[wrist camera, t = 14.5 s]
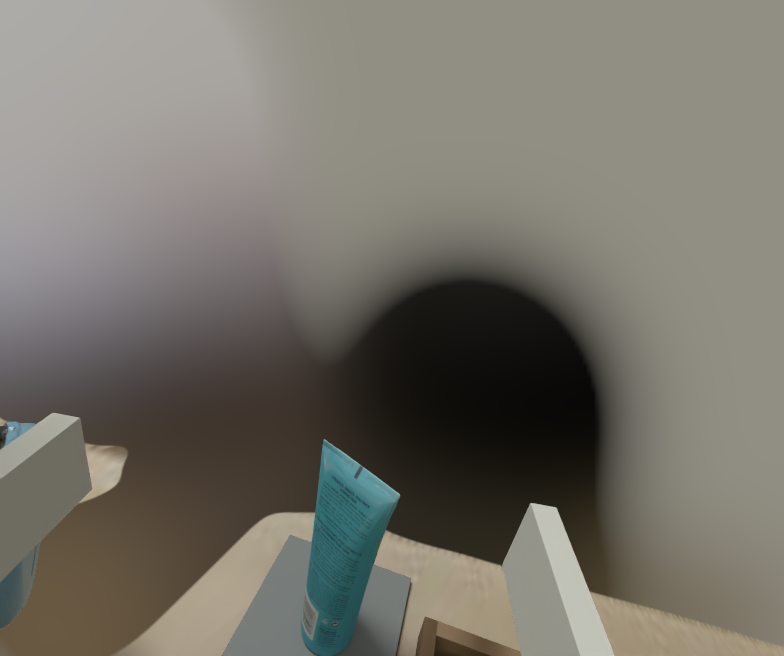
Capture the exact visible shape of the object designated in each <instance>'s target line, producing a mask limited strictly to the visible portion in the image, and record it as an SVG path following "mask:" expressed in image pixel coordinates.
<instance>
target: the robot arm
mask: <svg viewBox="0 0 784 656" xmlns="http://www.w3.org/2000/svg"><path fill="white" fill-rule="evenodd" d="M91 489H92V485H91V479H90V473H89V468H88V462H87V456H86V450H85V444H84V440H83V433H82V428H81V421H80V418H78V417H73V416H67V415H62V414H57V413H52V414H51V415H49V416H48V417H46V418H45V419H43V420H42V421H41V422H39V423H38V424H32V423H22V424H21V423H18V422H15V421H14V422H7V423H5V425H4V426H0V630H1V629H2V628H4V627H5V626H7V625H8V624H9V623H10V622H12V620H13V619H15V618H16V617H17V615H18V614H19V613H20V612H21V610H22V609H23V607H24V606H25V604H26V602H27V599H28V597H29V594H30V592H31V588H32V585H33V581H34V576H35V571H36V566H37V559H38V554H39V548H40V541H41V540H42V539H43V538H44V537H45V536H46V535H47V534H48V533H49V532H50V531H51V530H52V529H53V528H54V527H55V526H56V525H57V524H58V523H59V522H60V521H61V520H62V519H63V518H64V517H65V516H66V515H67V514H68V513H69V512H70V511H71V510H72V509H73V508H74V507H75V506H76V505H77V504H78V503H79V502H80V501H81V500H82V499H83V498H84V497H85V496H86V495H87V494H88V493H89V492H90V491H91ZM503 570H504V575H505V580H506V585H507V590H508V595H509V599H510V604H511V609H512V614H513V619H514V624H515V628H516V633H517V638H518V643H519V648H520V653H521V656H614V653H613V650H612V648H611V645H610V643H609V640H608V638H607V635H606V633H605V630H604V628H603V625H602V622H601V620H600V617H599V615H598V612H597V610H596V607H595V605H594V602H593V600H592V597H591V595H590V592H589V589H588V587H587V584H586V582H585V579H584V577H583V574H582V572H581V569H580V567H579V564H578V562H577V559H576V557H575V554H574V552H573V549H572V546H571V544H570V541H569V539H568V536H567V534H566V531H565V529H564V526H563V523H562V521H561V518H560V516H559V513H558V511H557V508H555V507H550V506H544V505H539V504H533V503H530V505H529V508H528V510H527V512H526V514H525V516H524V519H523V521H522V523H521V525H520V527H519V529H518V532H517V534H516V536H515V539H514V541H513V543H512V545H511V547H510V549H509V551H508V554H507V556H506V558H505V560H504V562H503Z"/></svg>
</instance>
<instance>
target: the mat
mask: <svg viewBox="0 0 784 656" xmlns="http://www.w3.org/2000/svg"><path fill="white" fill-rule="evenodd" d="M311 545H312V543H311V542H309V541H306V540H303V539H300V538H297V537H295V536H292V535H290V536H289V537H288V539H287V541H286V543H285V545H284V546H283V548H282V550H281V552H280V553H279V555H278V557H277V559H276V560H275V562H274V564H273V566H272V568H271V569H270V571H269V573H268V575H267V576H266V578H265V580H264V582H263V583H262V585H261V587H260V589H259V591H258V592H257V594H256V596H255V598H254V599H253V601H252V603H251V605H250V606H249V608H248V610H247V612H246V614H245V615H244V617H243V619H242V621H241V622H240V624H239V626H238V628H237V629H236V631H235V633H234V635H233V637H232V638H231V640H230V642H229V644H228V645H227V647H226V649H225V651H224V652H223V654H222V656H322V655H318V654H316V653H314V652H313V651H311V650H310V649H309V648H308V647H307V646H306V644H305V642H304V640H303V637H302V634H301V621H302V613H303V606H304V598H305V591H306V583H307V576H308V568H309V561H310V553H311ZM410 581H411V578H409V577H406V576H404V575H401V574H398V573H395V572H392V571H390V570H387V569H384V568H381V567H378V566H376V565H373V567H372V571H371V574H370V577H369V580H368V584H367V587H366V590H365V594H364V597H363V601H362V604H361V608H360V611H359V615H358V618H357V622H356V625H355V629H354V633H353V636H352V638H351V640H350V642H349V644H348V645H347V646H346V648H345V649H343V650H342V651H341V652H339V653H337V654H335V655H331V656H395V655H396V650H397V646H398V641H399V636H400V631H401V626H402V621H403V616H404V611H405V606H406V601H407V596H408V591H409V586H410Z"/></svg>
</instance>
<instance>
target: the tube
mask: <svg viewBox="0 0 784 656" xmlns="http://www.w3.org/2000/svg"><path fill="white" fill-rule="evenodd" d="M399 498H400V494H399V493H397V492H396V491H394V490H393V489H392V488H390V487H389V486H388V485H387V484H385V483H384V482H383V481H381V480H380V479H378V478H377V477H376V476H375V475H373V474H372V473H370V472H369V471H368V470H366V469H365V468H363V467H362V466H361V465H360V464H358V463H357V462H355V461H354V460H353V459H352V458H350V457H349V456H348V455H346V454H345V453H343V452H342V451H340V450H339V449H337V448H336V447H334V446H333V445H332V444H330V443H329V442H328V441H326V440H325V439H324V441H323V447H322V457H321V467H320V477H319V486H318V495H317V504H316V512H315V521H314V529H313V537H312V545H311V553H310V561H309V568H308V576H307V583H306V591H305V598H304V606H303V613H302V621H301V634H302V637H303V640H304V642H305V644H306V646H307V647H308V648H309V649H310V650H311V651H313V652H314V653H316V654H318V655H322V656H331V655H335V654H337V653H339V652H341V651H342V650H343V649H345V648H346V646H347V645H348V644H349V642H350V640H351V638H352V636H353V633H354V629H355V625H356V622H357V618H358V615H359V611H360V608H361V604H362V601H363V597H364V594H365V590H366V587H367V584H368V580H369V577H370V574H371V571H372V567H373V564H374V561H375V558H376V555H377V552H378V549H379V546H380V543H381V541H382V538H383V535H384V532H385V530H386V527H387V525H388V522H389V520H390V517H391V515H392V513H393V511H394V509H395V507H396V505H397V502H398V499H399Z"/></svg>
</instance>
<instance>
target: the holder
mask: <svg viewBox="0 0 784 656" xmlns="http://www.w3.org/2000/svg"><path fill="white" fill-rule="evenodd" d="M416 656H521V653H520V652H519V651H517V650H514V649H511V648H509V647H506V646H503V645H501V644H498V643H495V642H493V641H490V640H487V639H484V638H482V637H479V636H476V635H474V634H471V633H468V632H466V631H463V630H460V629H458V628H455V627H452V626H449V625H447V624H444V623H441V622H439V621H436V620H433V619H431V618H428V617H425V619H424V622H423V625H422V628H421V630H420V633H419V637H418V643H417V649H416Z"/></svg>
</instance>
